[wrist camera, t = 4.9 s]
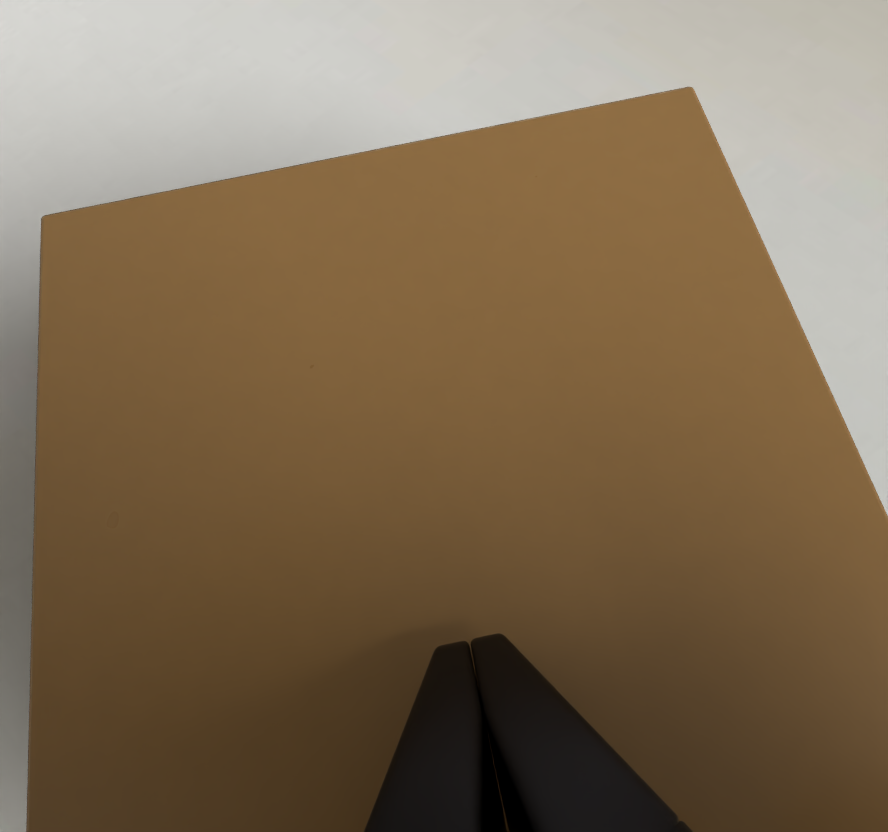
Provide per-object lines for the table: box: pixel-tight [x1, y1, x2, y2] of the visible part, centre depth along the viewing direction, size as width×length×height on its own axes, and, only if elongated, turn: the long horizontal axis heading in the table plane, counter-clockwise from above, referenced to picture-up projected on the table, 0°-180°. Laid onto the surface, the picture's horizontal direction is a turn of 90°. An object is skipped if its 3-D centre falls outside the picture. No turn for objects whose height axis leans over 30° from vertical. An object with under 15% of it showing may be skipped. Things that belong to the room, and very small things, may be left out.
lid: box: [26, 87, 888, 832], centre depth 10 cm, size 14×12×1 cm
